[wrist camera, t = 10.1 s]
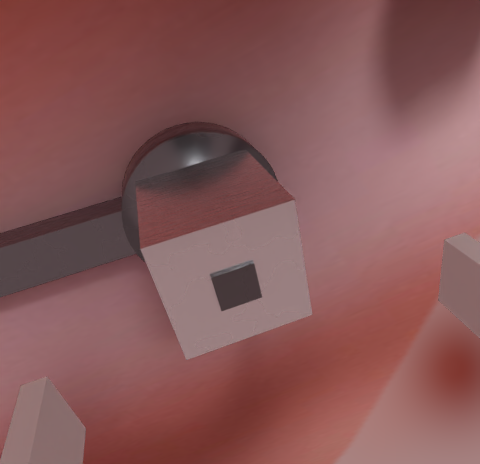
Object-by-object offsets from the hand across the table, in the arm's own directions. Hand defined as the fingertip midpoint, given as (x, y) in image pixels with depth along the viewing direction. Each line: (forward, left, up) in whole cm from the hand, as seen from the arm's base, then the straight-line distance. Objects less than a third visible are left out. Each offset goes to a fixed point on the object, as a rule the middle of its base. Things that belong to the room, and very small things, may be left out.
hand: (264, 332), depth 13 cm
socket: (+1, 0, -11) cm, 10 cm away
